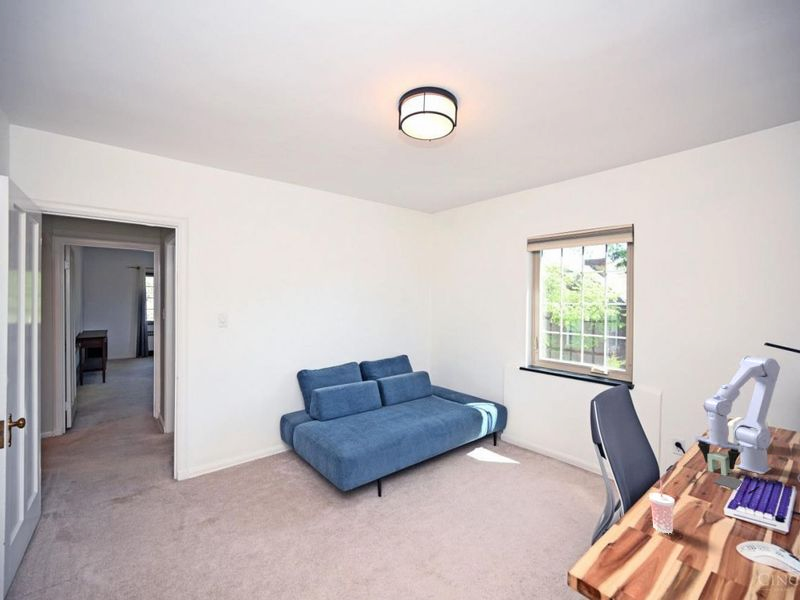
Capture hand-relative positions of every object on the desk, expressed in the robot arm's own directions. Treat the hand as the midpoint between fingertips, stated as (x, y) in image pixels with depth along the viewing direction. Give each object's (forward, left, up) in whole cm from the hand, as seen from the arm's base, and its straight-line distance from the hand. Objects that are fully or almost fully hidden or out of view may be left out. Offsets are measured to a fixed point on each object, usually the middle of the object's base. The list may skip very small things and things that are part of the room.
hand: (719, 465), depth 147 cm
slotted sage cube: (0, 0, -2) cm, 2 cm away
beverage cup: (+60, +7, -3) cm, 61 cm away
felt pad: (+8, +8, -2) cm, 12 cm away
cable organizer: (-44, -4, -3) cm, 44 cm away
